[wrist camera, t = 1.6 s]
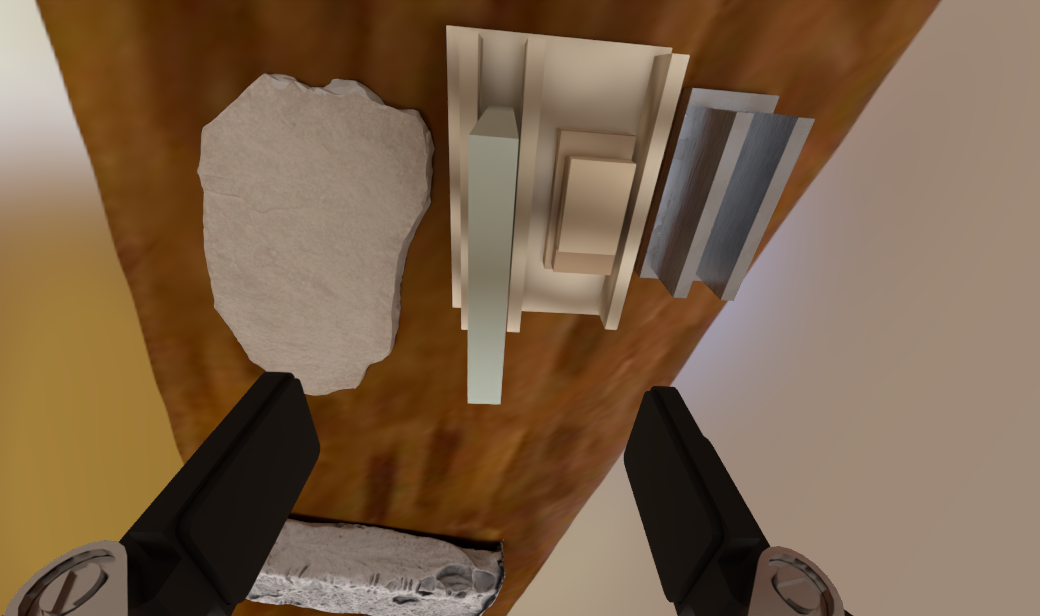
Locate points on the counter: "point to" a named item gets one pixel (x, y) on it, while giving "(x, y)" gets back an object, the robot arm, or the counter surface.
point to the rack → (539, 114)
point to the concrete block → (377, 572)
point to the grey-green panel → (489, 247)
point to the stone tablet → (312, 224)
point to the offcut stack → (588, 200)
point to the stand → (718, 189)
